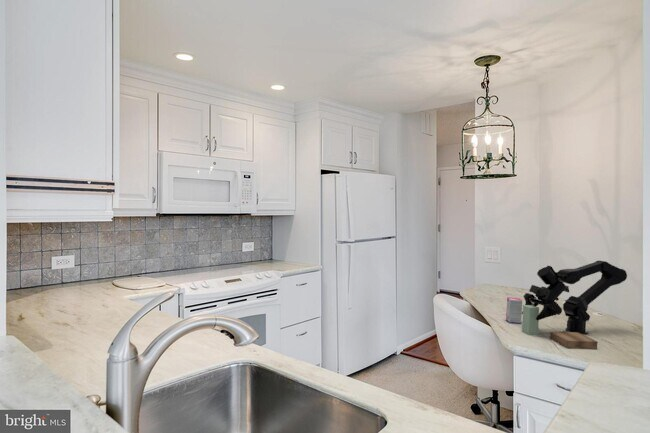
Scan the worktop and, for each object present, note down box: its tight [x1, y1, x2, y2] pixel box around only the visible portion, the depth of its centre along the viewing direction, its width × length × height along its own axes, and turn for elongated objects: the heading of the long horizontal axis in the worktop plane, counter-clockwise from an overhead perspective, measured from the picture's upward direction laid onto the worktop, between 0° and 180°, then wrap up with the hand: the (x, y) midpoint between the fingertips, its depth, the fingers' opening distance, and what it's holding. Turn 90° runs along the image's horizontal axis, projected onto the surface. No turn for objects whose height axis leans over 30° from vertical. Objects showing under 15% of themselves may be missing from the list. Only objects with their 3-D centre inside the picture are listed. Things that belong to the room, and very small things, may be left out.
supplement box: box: [505, 296, 523, 325], centre depth 197 cm, size 6×6×12 cm
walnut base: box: [549, 331, 598, 350], centre depth 167 cm, size 12×12×3 cm
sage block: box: [521, 304, 540, 336], centre depth 179 cm, size 4×4×12 cm
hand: (529, 316), depth 179 cm, fingers open, 9 cm apart
